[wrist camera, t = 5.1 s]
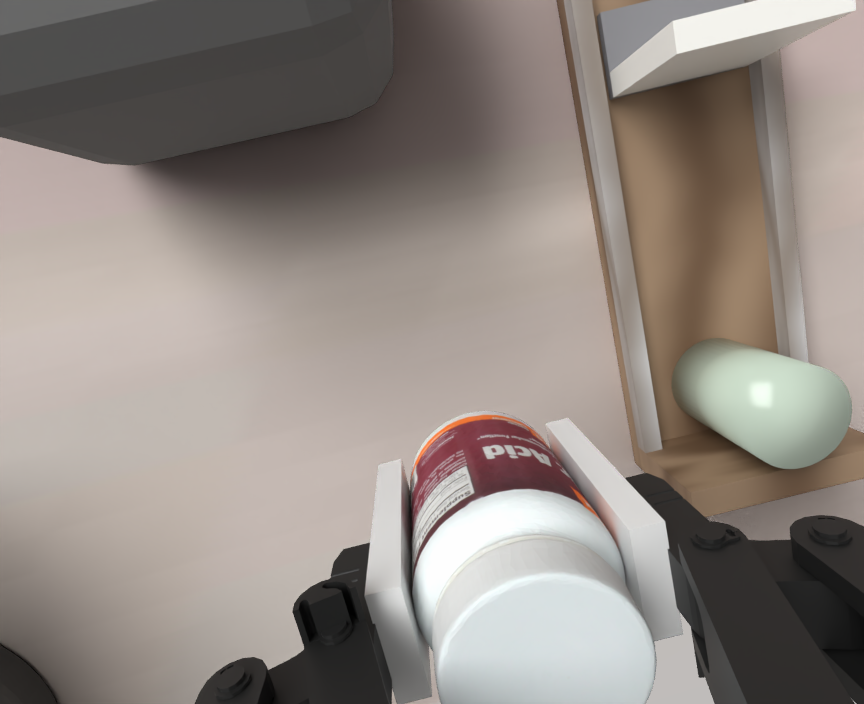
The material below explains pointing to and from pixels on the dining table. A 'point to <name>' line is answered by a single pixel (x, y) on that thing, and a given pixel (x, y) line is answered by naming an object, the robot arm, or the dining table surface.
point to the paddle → (701, 37)
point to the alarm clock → (184, 71)
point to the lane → (694, 254)
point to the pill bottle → (519, 575)
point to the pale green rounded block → (763, 401)
